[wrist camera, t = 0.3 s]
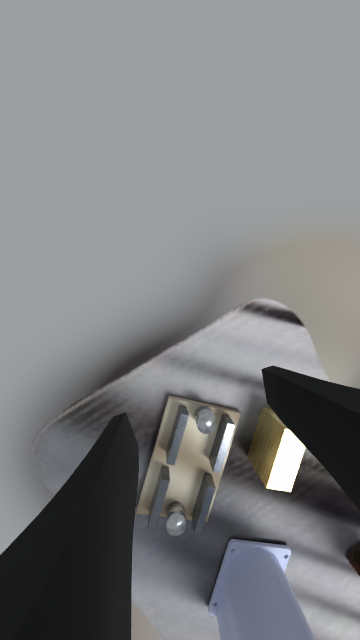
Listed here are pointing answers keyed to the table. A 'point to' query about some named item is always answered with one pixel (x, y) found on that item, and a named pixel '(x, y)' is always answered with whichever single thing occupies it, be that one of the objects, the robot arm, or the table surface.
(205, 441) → the plywood plate
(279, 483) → the khaki rectangular block
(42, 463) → the table surface
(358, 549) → the bolt
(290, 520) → the table surface
